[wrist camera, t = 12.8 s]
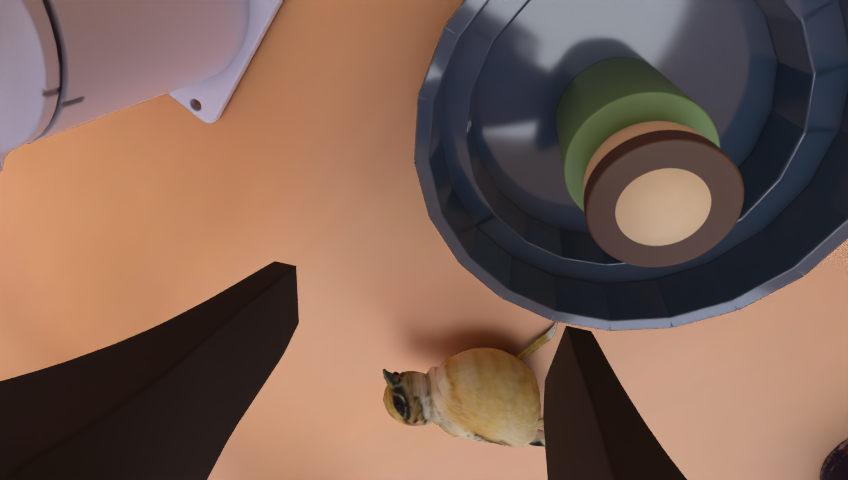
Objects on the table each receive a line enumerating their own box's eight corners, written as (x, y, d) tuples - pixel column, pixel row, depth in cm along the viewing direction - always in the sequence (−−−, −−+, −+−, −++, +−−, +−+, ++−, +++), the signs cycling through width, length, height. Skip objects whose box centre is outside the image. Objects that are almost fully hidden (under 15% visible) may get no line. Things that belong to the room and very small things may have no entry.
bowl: (379, 118, 19) (337, 162, 15) (649, -222, 12) (709, -315, 8) (587, 301, 22) (601, 381, 18) (901, 101, 15) (1042, 153, 11)
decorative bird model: (585, 335, 18) (364, 415, 20) (628, 478, 25) (463, 531, 27) (549, 271, 22) (364, 342, 23) (595, 412, 29) (451, 461, 30)
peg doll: (533, 117, 17) (535, 214, 11) (621, 31, 15) (692, 85, 9) (603, 184, 18) (645, 314, 11) (696, 111, 16) (813, 218, 9)
